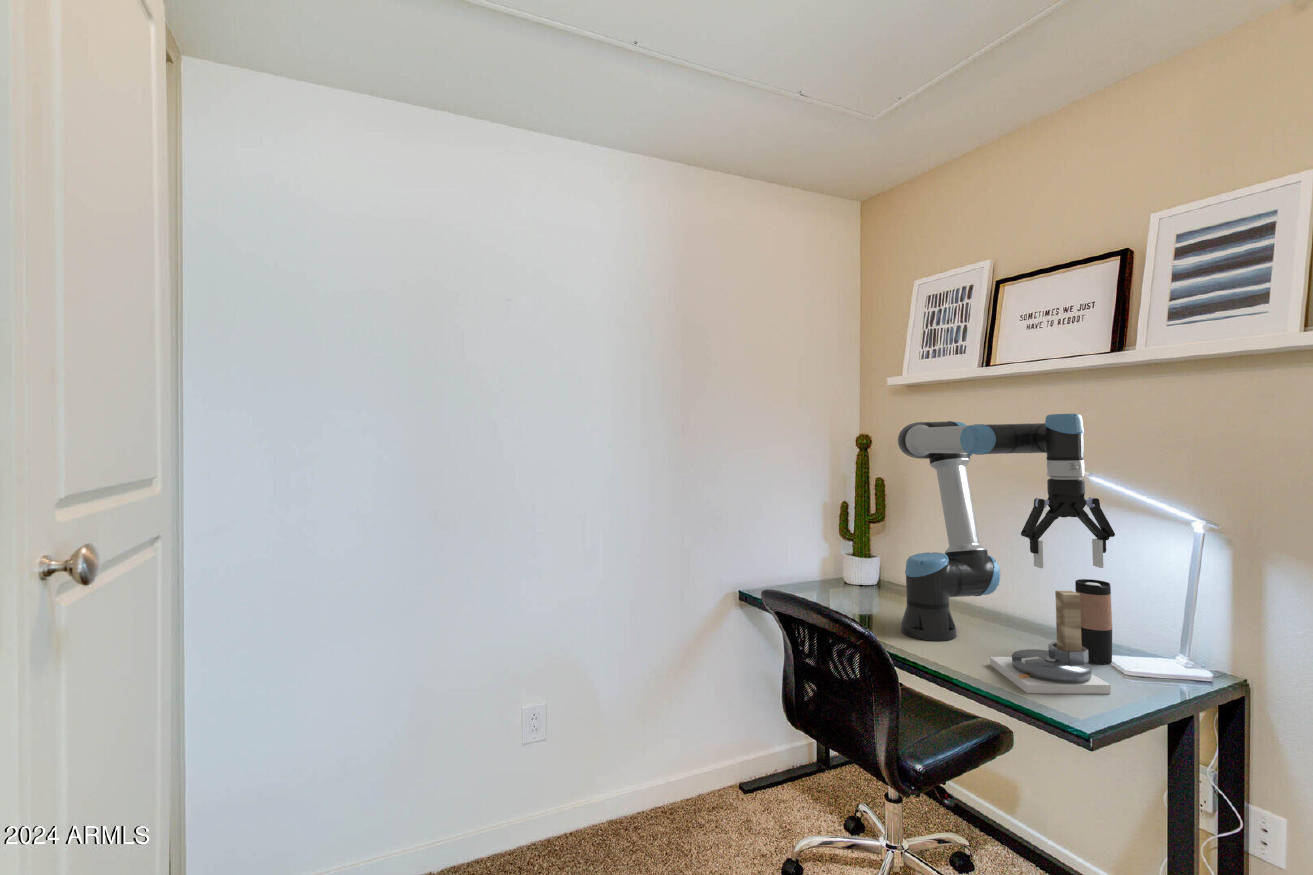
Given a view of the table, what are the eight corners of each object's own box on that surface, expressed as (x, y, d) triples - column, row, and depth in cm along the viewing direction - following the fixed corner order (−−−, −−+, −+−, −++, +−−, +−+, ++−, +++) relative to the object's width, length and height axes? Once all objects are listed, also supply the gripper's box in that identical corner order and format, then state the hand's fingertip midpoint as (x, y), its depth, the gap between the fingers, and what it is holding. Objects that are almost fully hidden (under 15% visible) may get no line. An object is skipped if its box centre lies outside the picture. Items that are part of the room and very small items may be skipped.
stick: (1057, 656, 149) (1055, 590, 149) (1072, 656, 149) (1070, 590, 149) (1066, 662, 145) (1064, 594, 145) (1082, 662, 145) (1080, 594, 145)
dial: (1071, 658, 153) (1071, 639, 153) (1108, 683, 137) (1108, 661, 137) (1001, 656, 156) (1000, 637, 156) (1029, 680, 140) (1028, 659, 140)
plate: (990, 664, 157) (989, 654, 157) (1063, 664, 156) (1063, 655, 156) (1027, 693, 139) (1026, 682, 139) (1110, 693, 138) (1110, 682, 138)
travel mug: (1078, 652, 164) (1076, 577, 165) (1114, 658, 160) (1111, 581, 160) (1075, 660, 159) (1073, 583, 159) (1112, 667, 154) (1110, 586, 154)
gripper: (1019, 479, 144) (1022, 570, 144) (1131, 478, 143) (1134, 569, 142) (1003, 478, 152) (1006, 564, 152) (1110, 476, 150) (1112, 563, 150)
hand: (1068, 567), depth 147 cm, fingers open, 13 cm apart
